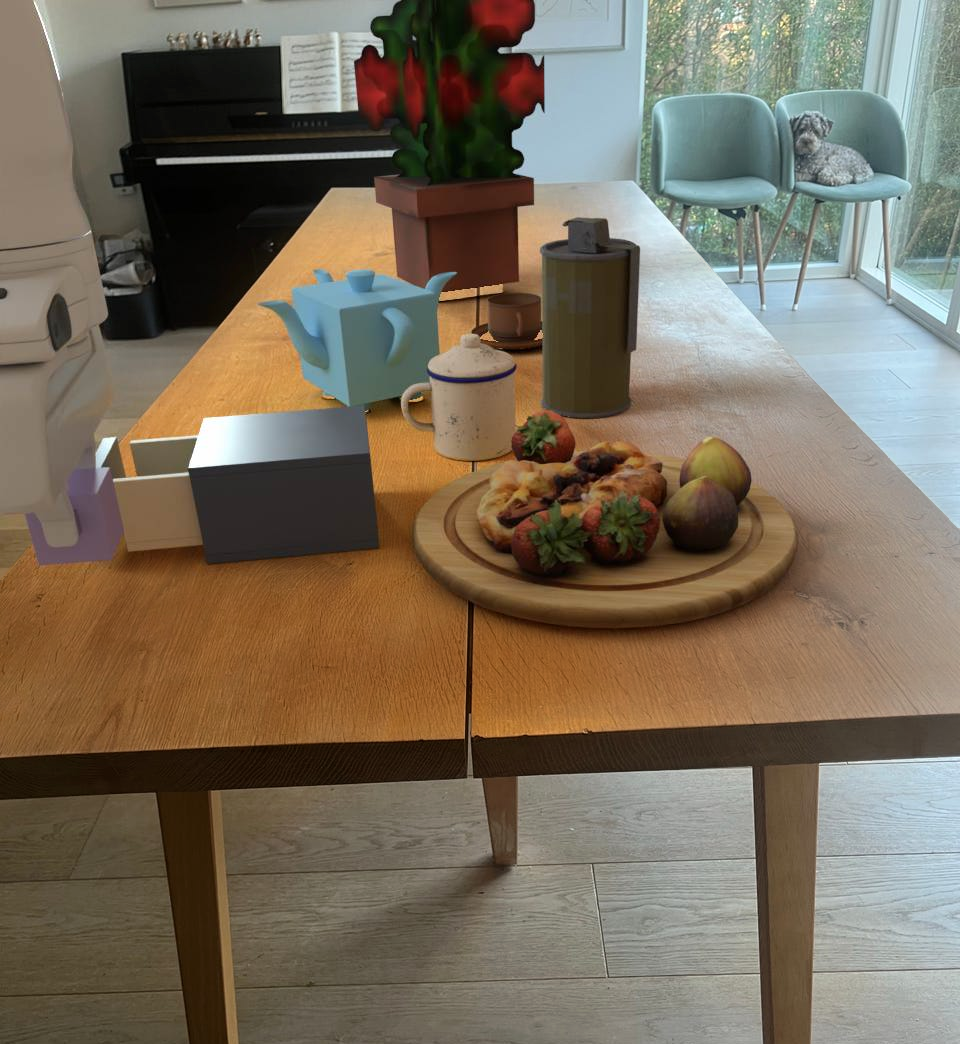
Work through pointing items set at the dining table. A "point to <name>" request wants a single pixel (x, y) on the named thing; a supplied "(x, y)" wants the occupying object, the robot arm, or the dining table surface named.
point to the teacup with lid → (469, 401)
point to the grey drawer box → (284, 484)
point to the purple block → (85, 520)
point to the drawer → (154, 492)
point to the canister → (588, 320)
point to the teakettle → (364, 334)
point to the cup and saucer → (512, 321)
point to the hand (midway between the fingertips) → (75, 522)
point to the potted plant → (453, 134)
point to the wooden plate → (605, 532)
